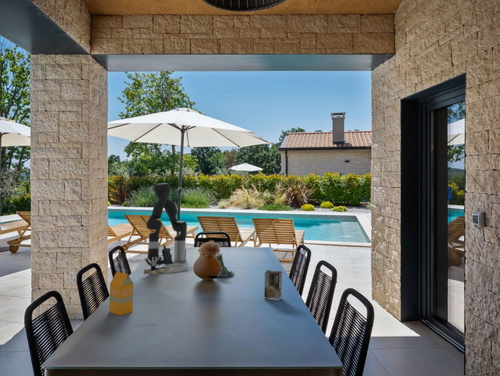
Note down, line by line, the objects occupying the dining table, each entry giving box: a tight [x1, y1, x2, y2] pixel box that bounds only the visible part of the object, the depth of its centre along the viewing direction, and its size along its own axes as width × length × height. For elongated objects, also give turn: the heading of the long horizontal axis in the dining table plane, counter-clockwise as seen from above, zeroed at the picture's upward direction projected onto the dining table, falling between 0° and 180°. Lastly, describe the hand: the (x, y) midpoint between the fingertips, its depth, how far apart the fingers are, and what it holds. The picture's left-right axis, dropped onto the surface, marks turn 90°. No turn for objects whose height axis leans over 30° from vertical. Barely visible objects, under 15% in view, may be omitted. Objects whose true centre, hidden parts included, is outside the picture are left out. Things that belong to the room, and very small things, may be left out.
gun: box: [157, 243, 175, 266], centre depth 297 cm, size 3×17×15 cm
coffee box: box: [263, 269, 283, 302], centre depth 221 cm, size 9×6×16 cm
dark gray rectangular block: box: [155, 265, 162, 270], centre depth 275 cm, size 4×4×4 cm
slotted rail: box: [143, 267, 169, 276], centre depth 274 cm, size 14×9×2 cm, turn 130°
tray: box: [160, 262, 188, 274], centre depth 284 cm, size 16×13×3 cm
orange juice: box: [108, 271, 134, 316], centre depth 192 cm, size 8×9×20 cm
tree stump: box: [216, 253, 235, 278], centre depth 272 cm, size 18×20×18 cm
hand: (152, 270), depth 273 cm, fingers closed
